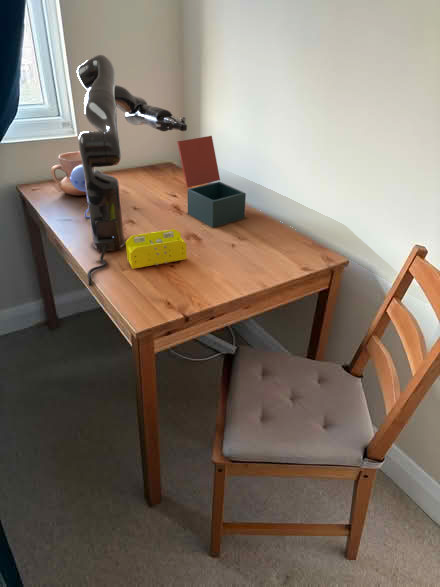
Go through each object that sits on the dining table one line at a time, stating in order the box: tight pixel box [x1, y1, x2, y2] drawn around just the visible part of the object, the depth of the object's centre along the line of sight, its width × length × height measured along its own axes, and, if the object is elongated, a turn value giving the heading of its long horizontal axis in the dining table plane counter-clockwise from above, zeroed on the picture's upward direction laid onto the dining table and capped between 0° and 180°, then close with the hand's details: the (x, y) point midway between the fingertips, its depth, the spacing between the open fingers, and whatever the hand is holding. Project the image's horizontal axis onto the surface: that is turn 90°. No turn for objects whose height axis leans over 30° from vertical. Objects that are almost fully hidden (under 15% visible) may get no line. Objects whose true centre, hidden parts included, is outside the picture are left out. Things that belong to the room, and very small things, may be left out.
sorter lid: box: [176, 135, 221, 189], centre depth 157 cm, size 15×14×1 cm
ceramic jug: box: [50, 150, 86, 196], centre depth 173 cm, size 18×14×14 cm
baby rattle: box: [70, 165, 90, 219], centre depth 151 cm, size 9×9×18 cm
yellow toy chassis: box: [125, 228, 188, 270], centre depth 128 cm, size 16×6×8 cm, turn 114°
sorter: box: [186, 181, 247, 228], centre depth 157 cm, size 14×14×9 cm
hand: (184, 127), depth 158 cm, fingers closed
